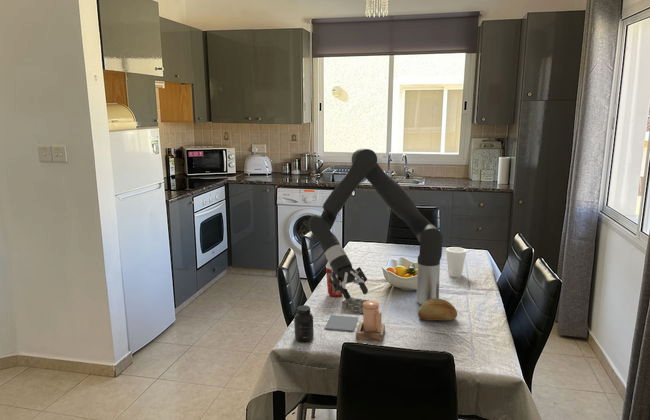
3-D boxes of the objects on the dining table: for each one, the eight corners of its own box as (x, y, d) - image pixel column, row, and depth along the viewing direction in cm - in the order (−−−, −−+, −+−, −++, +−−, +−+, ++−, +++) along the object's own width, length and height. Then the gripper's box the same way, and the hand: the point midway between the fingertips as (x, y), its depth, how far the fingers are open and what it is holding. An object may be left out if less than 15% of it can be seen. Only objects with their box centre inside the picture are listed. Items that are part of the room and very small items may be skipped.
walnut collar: (384, 329, 178) (384, 323, 177) (382, 341, 169) (382, 334, 168) (359, 327, 180) (359, 321, 179) (356, 339, 171) (356, 332, 170)
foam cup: (443, 276, 234) (444, 251, 231) (446, 271, 242) (447, 246, 239) (463, 279, 230) (465, 253, 228) (465, 273, 239) (467, 248, 236)
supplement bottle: (294, 335, 175) (293, 304, 172) (313, 334, 175) (312, 303, 173) (294, 344, 168) (294, 312, 166) (314, 342, 168) (313, 311, 166)
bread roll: (459, 325, 181) (460, 305, 180) (419, 324, 182) (419, 304, 181) (454, 314, 190) (455, 295, 189) (416, 313, 192) (417, 295, 190)
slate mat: (358, 318, 188) (358, 317, 188) (353, 331, 177) (353, 330, 176) (331, 316, 190) (331, 314, 190) (324, 329, 179) (324, 328, 179)
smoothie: (343, 299, 207) (342, 255, 203) (324, 298, 209) (323, 254, 205) (346, 292, 215) (346, 249, 211) (328, 291, 217) (327, 249, 213)
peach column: (359, 333, 175) (359, 303, 172) (371, 329, 178) (371, 299, 176) (373, 341, 169) (373, 309, 166) (385, 336, 172) (385, 305, 170)
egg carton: (339, 310, 197) (339, 300, 196) (347, 303, 204) (347, 294, 203) (363, 314, 192) (363, 304, 191) (370, 307, 199) (370, 298, 198)
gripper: (327, 257, 177) (347, 295, 171) (356, 250, 186) (376, 286, 179) (319, 268, 182) (338, 305, 176) (347, 260, 191) (367, 296, 184)
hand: (357, 296), depth 177 cm, fingers open, 8 cm apart
